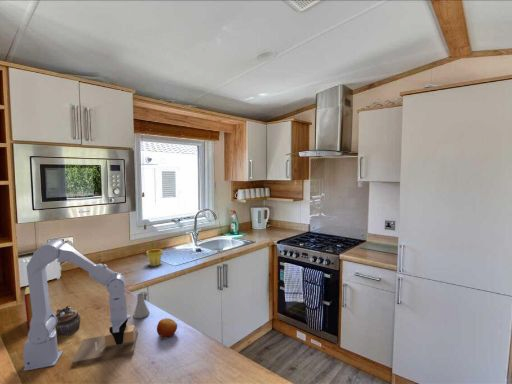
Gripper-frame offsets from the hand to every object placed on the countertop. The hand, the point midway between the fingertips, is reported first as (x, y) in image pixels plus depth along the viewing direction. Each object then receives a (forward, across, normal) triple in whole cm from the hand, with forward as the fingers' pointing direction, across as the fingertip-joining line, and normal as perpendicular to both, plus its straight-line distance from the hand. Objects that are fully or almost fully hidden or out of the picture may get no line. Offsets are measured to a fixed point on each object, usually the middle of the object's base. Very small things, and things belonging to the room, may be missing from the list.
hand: (120, 339), depth 113 cm
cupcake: (+3, +19, +24) cm, 31 cm away
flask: (+3, +23, -5) cm, 24 cm away
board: (+3, 0, +5) cm, 5 cm away
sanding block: (+1, 0, 0) cm, 1 cm away
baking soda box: (+3, +31, +40) cm, 50 cm away
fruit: (+3, +2, -17) cm, 18 cm away
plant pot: (+3, +94, -7) cm, 94 cm away
